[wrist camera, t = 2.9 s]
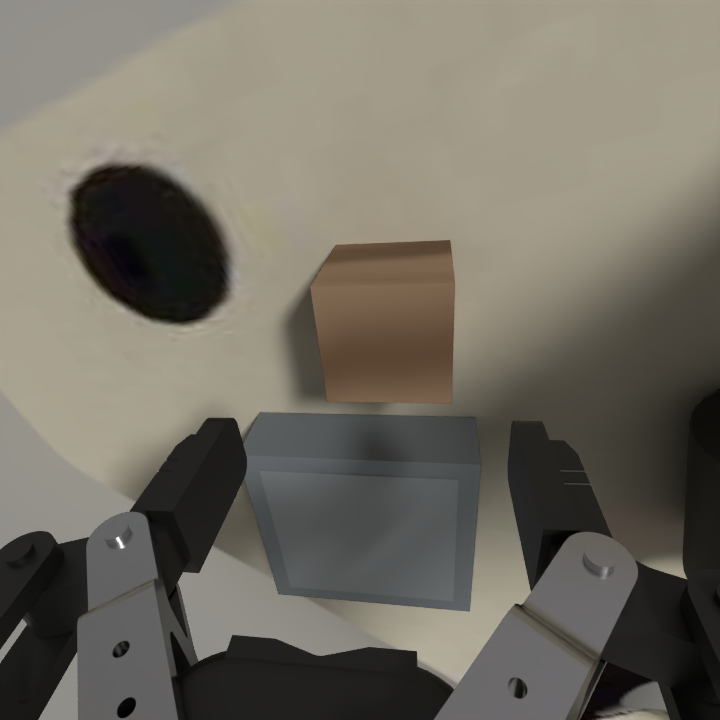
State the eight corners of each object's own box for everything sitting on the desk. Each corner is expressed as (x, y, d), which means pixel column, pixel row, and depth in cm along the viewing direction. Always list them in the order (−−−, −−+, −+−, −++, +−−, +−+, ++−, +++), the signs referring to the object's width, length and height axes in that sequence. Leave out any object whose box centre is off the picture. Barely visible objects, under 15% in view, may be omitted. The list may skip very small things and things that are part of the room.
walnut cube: (336, 244, 20) (310, 287, 16) (450, 239, 19) (455, 283, 15) (347, 342, 23) (327, 401, 18) (448, 341, 22) (451, 403, 18)
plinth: (259, 412, 26) (236, 455, 23) (475, 417, 24) (481, 465, 21) (292, 546, 32) (278, 594, 29) (466, 559, 30) (469, 612, 27)
